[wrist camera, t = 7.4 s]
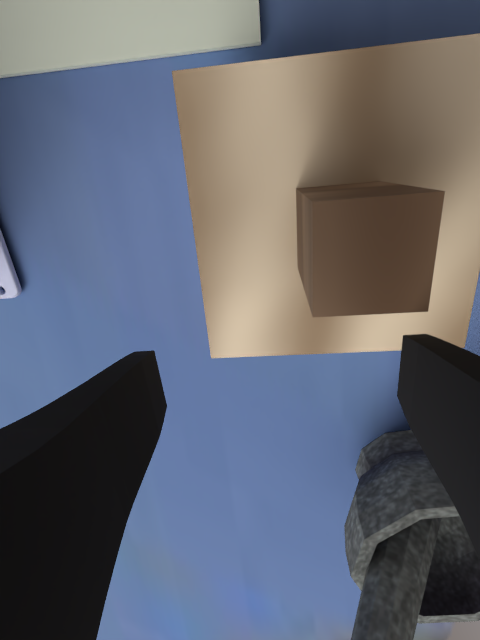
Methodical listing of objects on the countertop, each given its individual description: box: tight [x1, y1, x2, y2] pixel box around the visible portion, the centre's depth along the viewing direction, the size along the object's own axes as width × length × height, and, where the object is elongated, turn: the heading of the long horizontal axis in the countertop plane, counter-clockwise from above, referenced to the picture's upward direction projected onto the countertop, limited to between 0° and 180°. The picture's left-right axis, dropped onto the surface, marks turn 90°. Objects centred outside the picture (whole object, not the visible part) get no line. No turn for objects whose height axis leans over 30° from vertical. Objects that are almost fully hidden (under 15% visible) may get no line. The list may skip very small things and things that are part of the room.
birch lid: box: [172, 33, 480, 358], centre depth 11 cm, size 11×11×6 cm
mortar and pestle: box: [345, 430, 480, 640], centre depth 19 cm, size 11×9×12 cm
